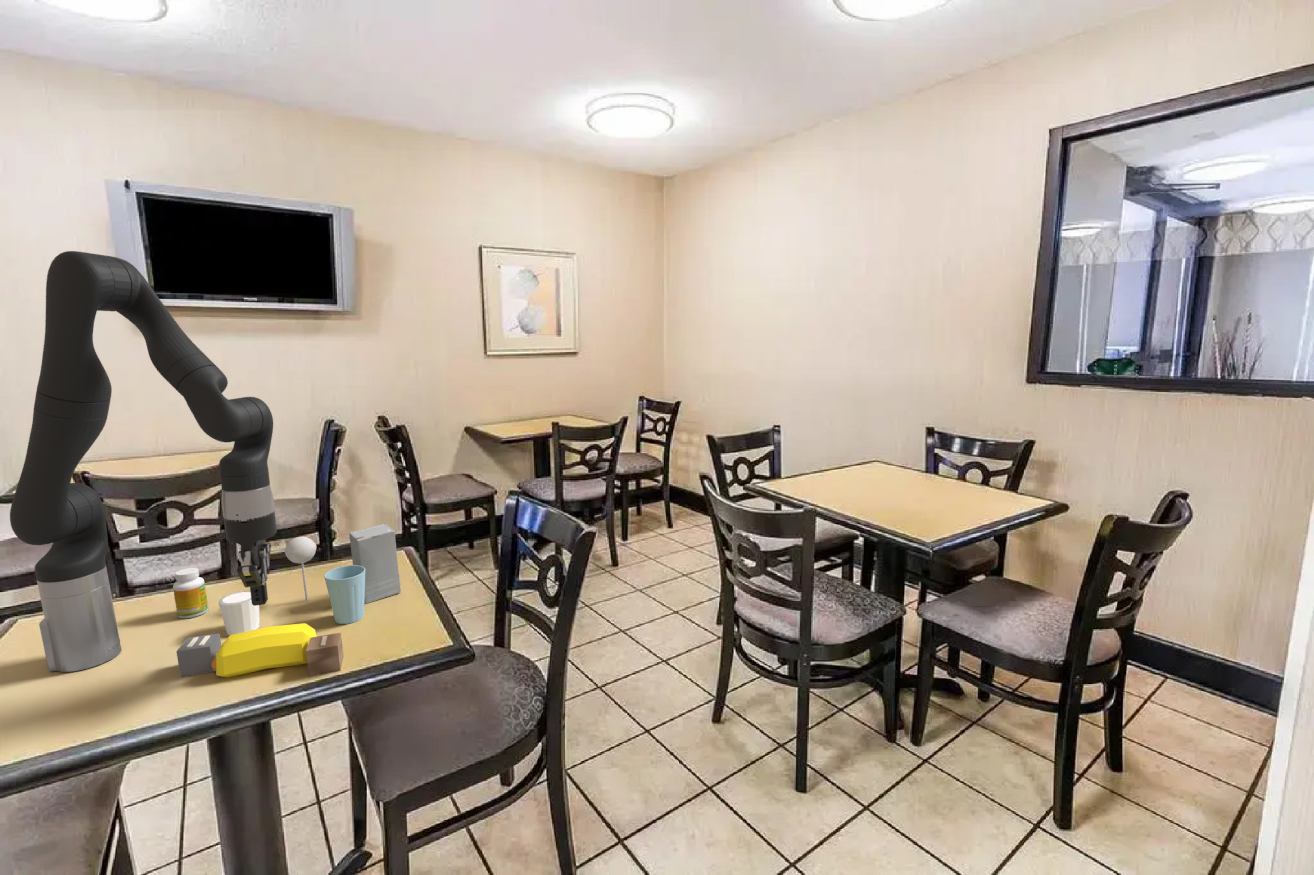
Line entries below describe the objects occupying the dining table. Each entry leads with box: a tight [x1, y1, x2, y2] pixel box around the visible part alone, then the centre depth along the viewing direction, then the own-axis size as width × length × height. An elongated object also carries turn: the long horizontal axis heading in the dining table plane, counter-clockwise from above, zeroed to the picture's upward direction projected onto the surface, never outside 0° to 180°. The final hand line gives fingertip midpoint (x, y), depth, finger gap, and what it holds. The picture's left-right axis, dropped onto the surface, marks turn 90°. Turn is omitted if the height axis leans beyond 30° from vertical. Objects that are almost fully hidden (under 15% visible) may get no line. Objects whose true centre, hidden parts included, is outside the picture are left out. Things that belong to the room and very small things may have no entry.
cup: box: [323, 564, 365, 625], centre depth 129 cm, size 8×8×10 cm
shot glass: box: [218, 589, 260, 636], centre depth 125 cm, size 7×7×7 cm
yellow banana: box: [211, 622, 317, 678], centre depth 112 cm, size 18×7×8 cm
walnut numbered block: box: [306, 632, 344, 677], centre depth 111 cm, size 5×5×5 cm
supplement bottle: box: [172, 567, 209, 619], centre depth 131 cm, size 5×5×10 cm
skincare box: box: [348, 523, 402, 605], centre depth 139 cm, size 8×7×16 cm
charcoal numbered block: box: [176, 633, 222, 678], centre depth 111 cm, size 5×5×5 cm
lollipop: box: [284, 536, 317, 602], centre depth 137 cm, size 6×6×15 cm
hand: (260, 603), depth 110 cm, fingers closed
